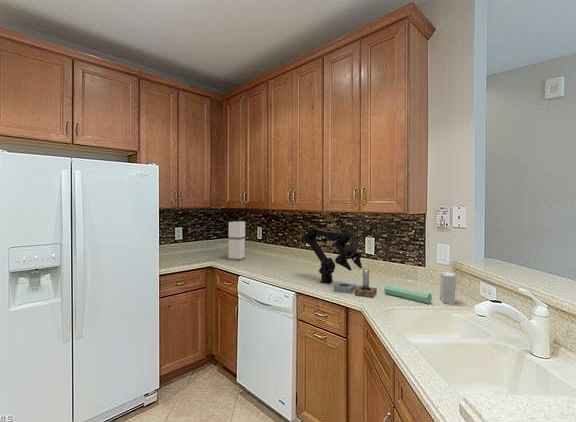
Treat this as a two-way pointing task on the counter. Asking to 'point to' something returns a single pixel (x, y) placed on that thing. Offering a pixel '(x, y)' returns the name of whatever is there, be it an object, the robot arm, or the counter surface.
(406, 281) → the counter surface
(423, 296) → the green faceted rod
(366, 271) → the axle
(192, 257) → the counter surface
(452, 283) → the skincare box
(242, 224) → the white square tower
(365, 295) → the brown square frame
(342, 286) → the socket block
